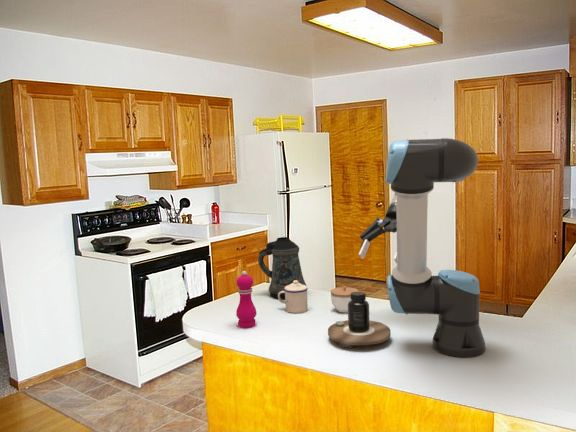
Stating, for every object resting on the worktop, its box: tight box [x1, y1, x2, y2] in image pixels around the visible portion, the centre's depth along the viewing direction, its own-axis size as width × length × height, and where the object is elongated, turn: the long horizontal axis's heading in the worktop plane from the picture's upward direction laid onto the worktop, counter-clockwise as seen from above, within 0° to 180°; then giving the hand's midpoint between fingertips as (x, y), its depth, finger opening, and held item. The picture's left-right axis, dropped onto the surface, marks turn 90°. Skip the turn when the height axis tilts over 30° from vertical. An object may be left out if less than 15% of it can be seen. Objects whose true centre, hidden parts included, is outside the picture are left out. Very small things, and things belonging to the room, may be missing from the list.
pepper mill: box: [235, 270, 257, 329], centre depth 177 cm, size 7×7×20 cm
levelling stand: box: [327, 319, 391, 350], centre depth 161 cm, size 20×20×4 cm
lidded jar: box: [330, 285, 360, 314], centre depth 190 cm, size 11×11×9 cm
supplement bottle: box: [347, 291, 371, 333], centre depth 160 cm, size 7×7×12 cm
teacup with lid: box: [277, 280, 309, 314], centre depth 193 cm, size 12×9×12 cm
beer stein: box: [257, 236, 307, 301], centre depth 213 cm, size 16×19×25 cm
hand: (377, 258), depth 168 cm, fingers open, 13 cm apart
